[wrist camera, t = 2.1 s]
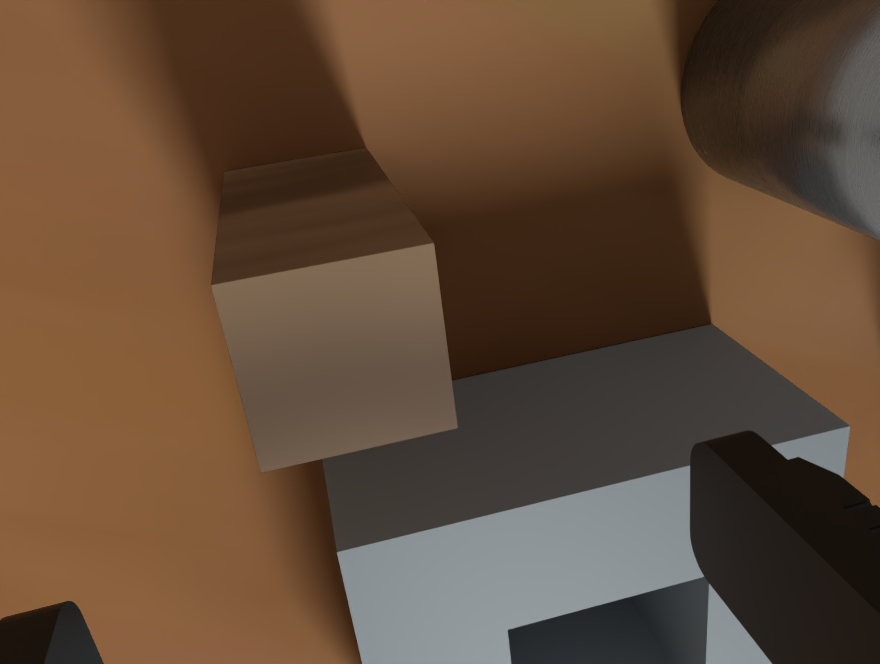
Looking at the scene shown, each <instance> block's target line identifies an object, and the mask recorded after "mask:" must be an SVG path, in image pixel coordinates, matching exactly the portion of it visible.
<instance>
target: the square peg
mask: <svg viewBox="0 0 880 664" xmlns="http://www.w3.org/2000/svg"><path fill="white" fill-rule="evenodd" d="M211 287H212V291H213V295H214V298H215V302H216V306H217V310H218V313H219V317H220V321H221V325H222V328H223V332H224V336H225V340H226V343H227V347H228V351H229V355H230V358H231V362H232V366H233V370H234V373H235V377H236V381H237V385H238V388H239V392H240V396H241V400H242V403H243V407H244V411H245V414H246V418H247V422H248V426H249V429H250V433H251V437H252V441H253V444H254V448H255V452H256V456H257V459H258V463H259V467H260V471H261V473H262V472H267V471H271V470H276V469H280V468H284V467H289V466H293V465H298V464H302V463H306V462H311V461H315V460H320V459H324V458H328V457H333V456H337V455H342V454H346V453H350V452H355V451H359V450H364V449H368V448H372V447H377V446H381V445H386V444H390V443H394V442H399V441H403V440H408V439H412V438H416V437H421V436H425V435H430V434H434V433H438V432H443V431H447V430H452V429H456V428H458V425H457V418H456V410H455V402H454V394H453V386H452V379H451V371H450V363H449V355H448V348H447V340H446V332H445V324H444V317H443V309H442V301H441V293H440V286H439V278H438V270H437V262H436V255H435V247H434V242H433V241H432V239H431V238H430V237H429V235H428V234H427V232H426V231H425V230H424V228H423V227H422V225H421V224H420V223H419V221H418V220H417V218H416V217H415V216H414V214H413V213H412V211H411V210H410V209H409V207H408V206H407V204H406V203H405V202H404V200H403V199H402V197H401V196H400V194H399V193H398V192H397V190H396V189H395V187H394V186H393V185H392V183H391V182H390V180H389V179H388V178H387V176H386V175H385V173H384V172H383V171H382V169H381V168H380V166H379V165H378V164H377V162H376V161H375V159H374V158H373V157H372V155H371V154H370V152H369V151H368V150H367V148H361V149H355V150H349V151H343V152H337V153H331V154H326V155H320V156H314V157H308V158H302V159H296V160H290V161H284V162H278V163H272V164H266V165H260V166H254V167H248V168H242V169H236V170H231V171H225V172H224V176H223V185H222V193H221V202H220V211H219V220H218V228H217V237H216V246H215V255H214V263H213V272H212V281H211Z"/></svg>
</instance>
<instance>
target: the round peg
mask: <svg viewBox="0 0 880 664" xmlns="http://www.w3.org/2000/svg"><path fill="white" fill-rule="evenodd" d="M681 108H682V115H683V120H684V125H685V128H686V131H687V134H688V137H689V139H690V141H691V143H692V145H693V147H694V149H695V150H696V152H697V153H698V155H699V156H700V157H701V158H702V159H703V161H704V162H705V163H706V164H707V165H708V166H709V167H711V168H712V169H713V170H715V171H716V172H717V173H719V174H721V175H723V176H725V177H726V178H729V179H731V180H733V181H736V182H738V183H741V184H743V185H746V186H748V187H750V188H753V189H755V190H758V191H760V192H762V193H765V194H767V195H770V196H772V197H775V198H777V199H779V200H782V201H784V202H787V203H789V204H791V205H794V206H796V207H799V208H801V209H803V210H806V211H808V212H811V213H813V214H816V215H818V216H820V217H823V218H825V219H828V220H830V221H832V222H835V223H837V224H840V225H842V226H845V227H847V228H849V229H852V230H854V231H857V232H859V233H861V234H864V235H866V236H869V237H871V238H874V239H876V240H878V241H880V0H719V1H718V2H717V3H716V4H715V5H714V7H713V8H712V9H711V11H710V12H709V14H708V15H707V16H706V18H705V19H704V21H703V22H702V24H701V26H700V28H699V30H698V32H697V33H696V35H695V38H694V40H693V42H692V45H691V47H690V49H689V53H688V56H687V59H686V63H685V67H684V72H683V77H682V87H681Z"/></svg>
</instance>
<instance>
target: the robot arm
mask: <svg viewBox="0 0 880 664" xmlns="http://www.w3.org/2000/svg"><path fill="white" fill-rule="evenodd" d="M690 539H691V545H692V549H693V553H694V556H695V558H696V561H697V563H698V566H699V568H700V570H701V572H702V574H703V575H704V577H705V578H706V580H707V581H708V583H709V584H710V585H711V586H712V588H713V589H714V590H715V591H716V593H717V594H718V595H719V597H720V598H721V599H722V600H723V602H724V603H725V604H726V606H727V607H728V608H729V609H730V611H731V612H732V613H733V614H734V616H735V617H736V618H737V620H738V621H739V622H740V623H741V625H742V626H743V627H744V628H745V630H746V631H747V632H748V634H749V635H750V636H751V637H752V639H753V640H754V641H755V642H756V644H757V645H758V646H759V648H760V649H761V650H762V651H763V653H764V654H765V655H766V657H767V658H768V659H769V660H770V662H771V663H772V664H880V508H879V507H878V506H877V505H874V506H872V505H871V503H870V500H869V499H868V498H867V497H866V496H864V495H863V494H862V493H861V492H860V491H858V490H857V489H856V488H855V487H853V486H852V485H851V484H850V483H849V482H847V481H846V480H845V479H844V478H842V477H841V476H840V475H838V474H836V473H834V472H832V471H829V470H827V469H825V468H823V467H820V466H818V465H816V464H814V463H811V462H809V461H807V460H804V459H802V458H800V457H796V458H792V459H789V460H787V459H786V458H785V457H784V456H783V455H782V454H781V453H779V452H778V451H777V450H776V449H775V448H774V447H772V446H771V445H770V444H769V443H768V442H767V441H765V440H764V439H763V438H762V437H761V436H760V435H758V434H757V433H755V432H753V431H749V430H747V431H742V432H738V433H734V434H730V435H727V436H723V437H719V438H715V439H711V440H707V441H703V442H699V443H696V444H695V445H694V446H693V448H692V450H691V455H690ZM0 664H104V663H103V661H102V659H101V656H100V654H99V652H98V650H97V647H96V645H95V643H94V640H93V638H92V636H91V634H90V631H89V629H88V627H87V624H86V622H85V620H84V618H83V615H82V613H81V611H80V609H79V608H78V606H77V605H76V604H75V603H73V602H72V601H66V602H63V603H59V604H55V605H51V606H47V607H43V608H39V609H35V610H31V611H27V612H23V613H19V614H15V615H11V616H7V617H4V618H2V619H1V620H0Z"/></svg>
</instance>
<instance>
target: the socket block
mask: <svg viewBox="0 0 880 664" xmlns="http://www.w3.org/2000/svg"><path fill="white" fill-rule="evenodd" d="M452 386H453V394H454V402H455V410H456V418H457V425H458V428H456V429H452V430H447V431H443V432H438V433H434V434H430V435H425V436H421V437H416V438H412V439H408V440H403V441H399V442H394V443H390V444H386V445H381V446H377V447H372V448H368V449H364V450H359V451H355V452H350V453H346V454H342V455H337V456H333V457H328V458H324V459H322V462H323V468H324V474H325V481H326V487H327V493H328V500H329V506H330V512H331V519H332V525H333V531H334V538H335V544H336V550H337V555H338V560H339V564H340V569H341V573H342V577H343V582H344V586H345V590H346V595H347V599H348V604H349V608H350V612H351V617H352V621H353V626H354V630H355V634H356V639H357V643H358V648H359V652H360V656H361V661H362V664H772V663H771V662H770V660H769V659H768V658H767V657H766V655H765V654H764V653H763V651H762V650H761V649H760V648H759V646H758V645H757V644H756V642H755V641H754V640H753V639H752V637H751V636H750V635H749V634H748V632H747V631H746V630H745V628H744V627H743V626H742V625H741V623H740V622H739V621H738V620H737V618H736V617H735V616H734V614H733V613H732V612H731V611H730V609H729V608H728V607H727V606H726V604H725V603H724V602H723V600H722V599H721V598H720V597H719V595H718V594H717V593H716V591H715V590H714V589H713V588H712V586H711V585H710V584H709V583H708V581H707V580H706V578H705V577H704V575H703V574H702V572H701V570H700V568H699V566H698V563H697V561H696V558H695V556H694V553H693V549H692V545H691V539H690V455H691V450H692V448H693V446H694V445H695V444H696V443H699V442H703V441H707V440H711V439H715V438H719V437H723V436H727V435H730V434H734V433H738V432H742V431H747V430H749V431H753V432H755V433H757V434H758V435H760V436H761V437H762V438H763V439H764V440H765V441H767V442H768V443H769V444H770V445H771V446H772V447H774V448H775V449H776V450H777V451H778V452H779V453H781V454H782V455H783V456H784V457H785V458H786V459H787V460H789V459H792V458H796V457H800V458H802V459H804V460H807V461H809V462H811V463H814V464H816V465H818V466H820V467H823V468H825V469H827V470H829V471H832V472H834V473H836V474H838V475H840V476H841V477H842V478H844V470H845V462H846V455H847V447H848V439H849V432H850V426H849V425H848V424H847V423H845V422H844V421H843V420H841V419H840V418H839V417H837V416H836V415H835V414H833V413H832V412H831V411H829V410H828V409H827V408H825V407H824V406H822V405H821V404H820V403H818V402H817V401H816V400H814V399H813V398H812V397H810V396H809V395H808V394H806V393H805V392H804V391H802V390H801V389H799V388H798V387H797V386H795V385H794V384H793V383H791V382H790V381H789V380H787V379H786V378H785V377H783V376H782V375H781V374H779V373H778V372H777V371H775V370H774V369H772V368H771V367H770V366H768V365H767V364H766V363H764V362H763V361H762V360H760V359H759V358H758V357H756V356H755V355H754V354H752V353H751V352H750V351H748V350H747V349H745V348H744V347H743V346H741V345H740V344H739V343H737V342H736V341H735V340H733V339H732V338H731V337H729V336H728V335H727V334H725V333H724V332H723V331H721V330H720V329H718V328H717V327H716V326H714V325H713V324H710V325H705V326H701V327H696V328H692V329H687V330H682V331H678V332H673V333H668V334H664V335H659V336H655V337H650V338H646V339H641V340H636V341H632V342H627V343H622V344H618V345H613V346H609V347H604V348H599V349H595V350H590V351H586V352H581V353H576V354H572V355H567V356H563V357H558V358H553V359H549V360H544V361H540V362H535V363H530V364H526V365H521V366H517V367H512V368H507V369H503V370H498V371H494V372H489V373H484V374H480V375H475V376H471V377H466V378H461V379H457V380H452Z"/></svg>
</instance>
